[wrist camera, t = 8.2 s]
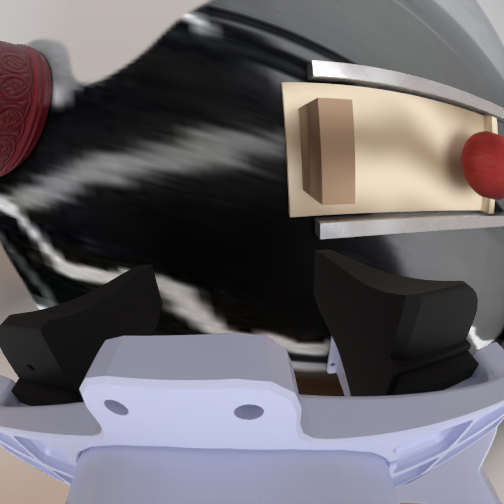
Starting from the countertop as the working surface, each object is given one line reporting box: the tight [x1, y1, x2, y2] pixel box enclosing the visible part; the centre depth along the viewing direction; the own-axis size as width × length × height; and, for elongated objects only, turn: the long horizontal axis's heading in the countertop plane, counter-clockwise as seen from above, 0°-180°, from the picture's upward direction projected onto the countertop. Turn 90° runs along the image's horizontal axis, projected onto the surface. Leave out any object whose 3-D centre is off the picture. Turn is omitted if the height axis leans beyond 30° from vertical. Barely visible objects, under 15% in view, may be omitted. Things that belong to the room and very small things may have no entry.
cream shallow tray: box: [281, 82, 498, 217], centre depth 16 cm, size 10×22×6 cm, turn 94°
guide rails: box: [307, 60, 504, 239], centre depth 18 cm, size 13×30×2 cm, turn 94°
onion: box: [461, 131, 504, 200], centre depth 15 cm, size 6×6×8 cm
